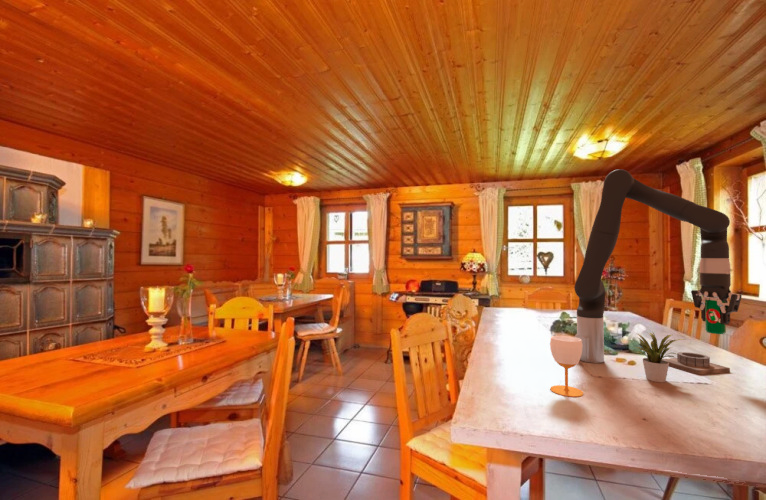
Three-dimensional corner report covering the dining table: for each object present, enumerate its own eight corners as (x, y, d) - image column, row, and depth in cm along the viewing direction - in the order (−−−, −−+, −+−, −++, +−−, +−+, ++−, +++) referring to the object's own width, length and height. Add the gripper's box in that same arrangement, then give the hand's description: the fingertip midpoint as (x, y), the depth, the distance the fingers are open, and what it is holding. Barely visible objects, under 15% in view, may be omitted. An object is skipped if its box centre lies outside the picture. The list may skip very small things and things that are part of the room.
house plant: (690, 379, 119) (689, 330, 120) (687, 391, 109) (686, 337, 110) (637, 370, 129) (637, 325, 129) (631, 380, 119) (630, 330, 119)
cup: (580, 388, 112) (579, 336, 112) (586, 398, 103) (585, 342, 103) (548, 384, 115) (548, 334, 115) (552, 394, 106) (551, 340, 106)
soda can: (717, 331, 121) (716, 296, 122) (730, 334, 116) (729, 297, 117) (701, 331, 122) (700, 295, 122) (713, 334, 117) (713, 297, 117)
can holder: (698, 374, 125) (697, 361, 125) (659, 363, 138) (659, 351, 138) (729, 372, 127) (729, 359, 127) (689, 361, 141) (689, 349, 141)
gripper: (683, 271, 126) (684, 319, 125) (730, 273, 112) (731, 327, 111) (701, 271, 127) (701, 318, 127) (749, 272, 113) (750, 326, 113)
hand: (715, 322), depth 119 cm, fingers closed on soda can, 5 cm apart
